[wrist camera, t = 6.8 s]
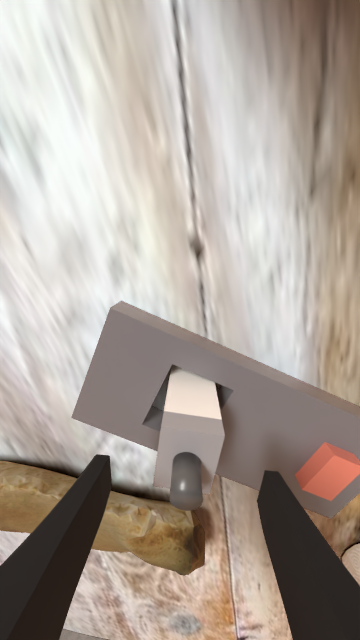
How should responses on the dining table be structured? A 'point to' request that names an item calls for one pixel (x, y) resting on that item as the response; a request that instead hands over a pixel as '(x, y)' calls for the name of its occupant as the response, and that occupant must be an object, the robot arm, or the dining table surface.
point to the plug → (189, 439)
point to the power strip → (226, 408)
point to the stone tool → (106, 518)
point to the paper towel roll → (353, 561)
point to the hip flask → (76, 636)
